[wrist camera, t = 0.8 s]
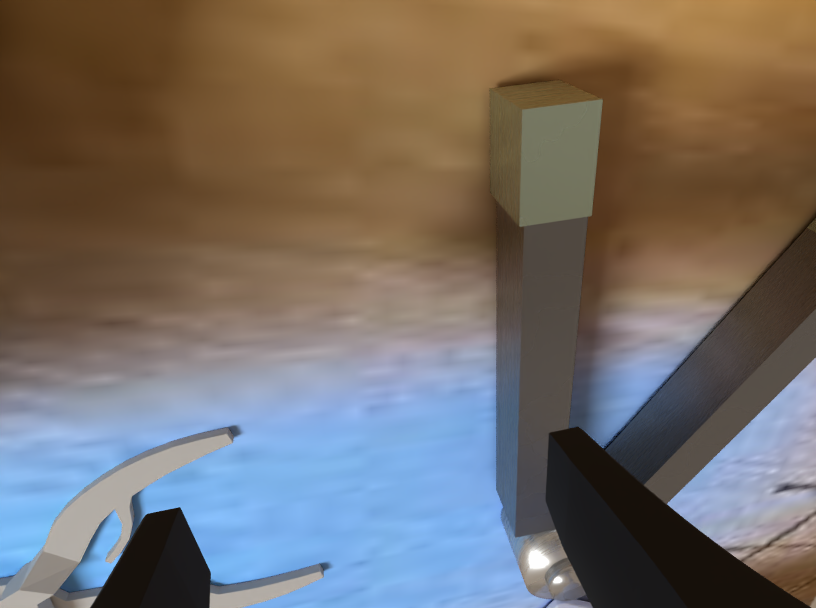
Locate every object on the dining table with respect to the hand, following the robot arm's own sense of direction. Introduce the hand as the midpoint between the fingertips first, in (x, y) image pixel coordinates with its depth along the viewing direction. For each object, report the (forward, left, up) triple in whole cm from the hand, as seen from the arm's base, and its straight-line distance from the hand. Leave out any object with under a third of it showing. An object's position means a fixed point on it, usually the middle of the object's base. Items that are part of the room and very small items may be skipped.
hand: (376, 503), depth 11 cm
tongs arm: (-6, -1, -8) cm, 10 cm away
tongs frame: (-13, -2, -8) cm, 16 cm away
